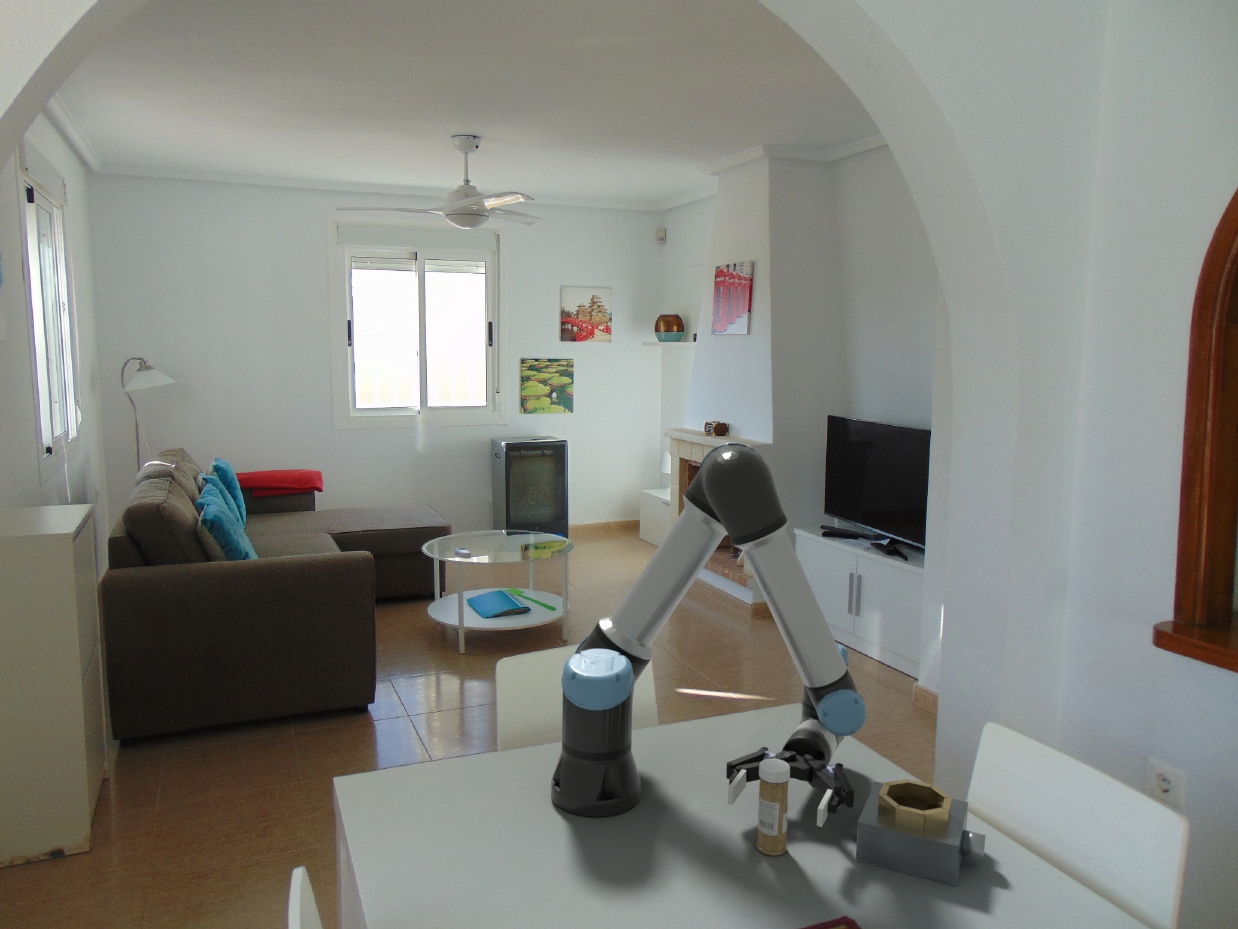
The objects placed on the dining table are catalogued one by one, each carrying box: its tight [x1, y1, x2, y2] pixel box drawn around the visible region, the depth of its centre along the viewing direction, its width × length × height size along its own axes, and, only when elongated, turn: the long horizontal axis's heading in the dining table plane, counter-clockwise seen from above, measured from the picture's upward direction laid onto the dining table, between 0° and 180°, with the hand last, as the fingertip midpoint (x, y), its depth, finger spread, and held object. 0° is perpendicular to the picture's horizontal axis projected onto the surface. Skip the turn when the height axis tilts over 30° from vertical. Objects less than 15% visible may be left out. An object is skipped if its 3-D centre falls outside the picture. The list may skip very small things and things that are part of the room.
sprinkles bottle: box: [756, 759, 791, 857], centre depth 133 cm, size 5×5×13 cm
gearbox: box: [855, 778, 987, 887], centre depth 133 cm, size 17×14×8 cm
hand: (774, 806), depth 132 cm, fingers open, 13 cm apart
